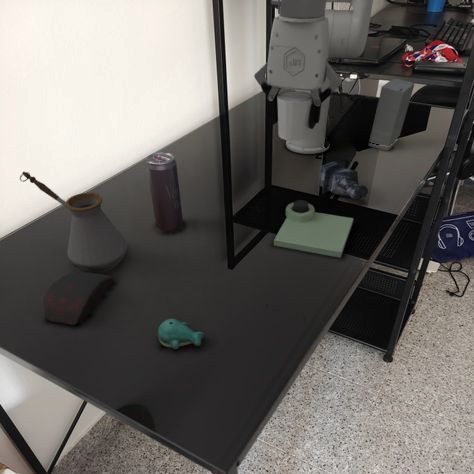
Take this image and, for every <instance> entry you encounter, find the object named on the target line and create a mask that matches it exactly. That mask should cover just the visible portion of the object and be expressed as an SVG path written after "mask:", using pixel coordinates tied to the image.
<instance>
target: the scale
mask: <svg viewBox="0 0 474 474" xmlns="http://www.w3.org/2000/svg"><path fill="white" fill-rule="evenodd" d="M293 203H294V202H291V203H289V204H287V206H286V207H285V216H286V218H285V220H284V222H283V223H282V225H281V227H280V228H279V231H278V232H277V234H276V235H275V237H274V239H273V246H274V247H280V248H285V249H290V250H297V251H301V252H307V253H313V254H317V255H318V254H319V255H324V256H329V257H333V258H340V259H341V258H342V255H343V253H344V250H345V247H346V244H347V241H348V238H349V235H350V232H351V230H352V227H353V224H354V217H348V216H342V215H341V216H340V215H335V214H328V213H322V212H316V210H315V209H316V208H315V207H314V205H313V204H310V203H308V211H307V212H305V213H297V212H294V211H293Z"/></svg>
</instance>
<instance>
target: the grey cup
mask: <svg viewBox="0 0 474 474" xmlns="http://www.w3.org/2000/svg"><path fill="white" fill-rule="evenodd" d="M277 103H278V121H277V126H278V127H277V129H278V131H277V132H278V137H279V138H280V139H282V140H285V141H287V140H290V141H297V140H302V139H305V138H306V137H307V134H308V128H309V121H310V111H311V106H312V105H313V98H312V95H311V93H308V92H303V91H295V90H288V91H283V92H279V94H278V95H277Z"/></svg>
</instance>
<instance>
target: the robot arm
mask: <svg viewBox="0 0 474 474" xmlns="http://www.w3.org/2000/svg"><path fill="white" fill-rule="evenodd" d="M327 3H344V4H345V3H346V4H347V3H349V4H350V5H351V6H352V9H332V8H331V9H326V7H327ZM373 4H374V0H271V1H270V6H271V8H272V9H276V10H277V14H278V16H275V17H274V18H273V21H272V26H271V32H270V40H269V48H268V57H267V62H266V63H265V64H264V65H262V67H261V68H260V69H259V70H257V71H256V72H255V73H254V75H253V77H254V79H255V80H256V82H257V83H258V85H259V86H260V89H261V90H262V92H263V93H264V95H265V96H266V97H267V101H269V109H268V110H269V111H268V114H269V115H268V117H269V118H270V119H271V121H270V125H277V124H278V103H277V95H278V94H280V93H281V92H280V91H281V89H285V90H294V91H303V92H308V93H311V95H312V98H313V105H312V106H311V111H310V121H309V128H308V134H307V137H306V138H305V139H302V140H297V141H290V140H285V146H286V148H287V149H288V150H289V151H291V152H294V153H297V154H305V155H316V154H320V153H324V152H327V150H328V149H329V148H330V144H329V146H328V147H327V148H325V147H324V141H325V138H326V134H327V133H326V132H327V125H328V116H329V109H330V101H331V95H332V94H333V93H334V92H335V91H336V90H337V89H338V88H339V87H340V85H341V84H342V81H343V80H342V79H341V77H340V76H339V75H338V73H337V72H336V71H335V69H334V68H333V67H332V66H331V64H330V63H329V58H331V59H357V58H359V57H361V55H362V54H363V53H364V51H365V48H366V45H367V40H368V36H369V30H370V23H371V18H372V17H371V16H372V10H373Z"/></svg>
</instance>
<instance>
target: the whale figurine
mask: <svg viewBox="0 0 474 474" xmlns="http://www.w3.org/2000/svg"><path fill="white" fill-rule="evenodd" d="M157 329H158V330H157V337H158V338H157V339H158V341H159V342H160V344H161V345H162V346H164V347H166V348H172V349H174V350H177V349H179V347H183V346H187V345H191V344H193V345H195V346H197V347H199V346H201V344H202V339H203V338H204V337H205V333H204V332H203V331H194V330H193V329H191V328H190V327H189V324H188V322H186V321H184V322H181V321H180V320H178V319H176V318H168V319H165V320H164V321H163V322H162V323H160V325H159V326H158V328H157Z"/></svg>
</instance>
